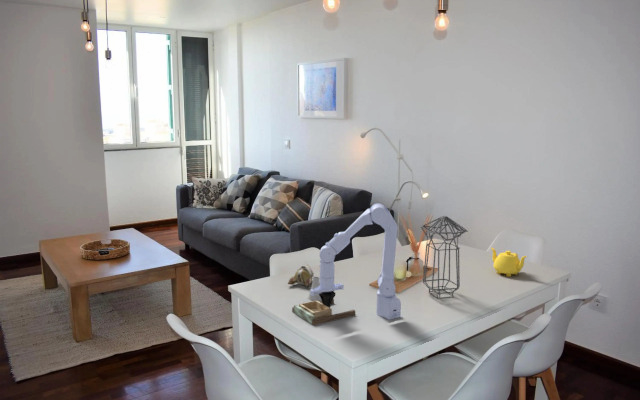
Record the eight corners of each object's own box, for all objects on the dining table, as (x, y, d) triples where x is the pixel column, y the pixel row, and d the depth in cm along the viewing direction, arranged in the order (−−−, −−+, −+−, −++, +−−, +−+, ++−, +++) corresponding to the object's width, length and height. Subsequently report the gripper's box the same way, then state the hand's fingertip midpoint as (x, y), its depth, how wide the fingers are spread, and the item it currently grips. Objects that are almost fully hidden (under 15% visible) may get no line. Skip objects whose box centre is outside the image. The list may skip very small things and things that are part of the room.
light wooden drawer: (331, 317, 205) (331, 308, 204) (313, 321, 201) (314, 313, 200) (316, 308, 214) (316, 300, 213) (299, 312, 210) (299, 304, 209)
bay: (355, 317, 208) (355, 307, 207) (313, 327, 198) (313, 317, 197) (332, 304, 221) (332, 295, 221) (292, 313, 211) (292, 304, 210)
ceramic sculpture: (318, 262, 251) (308, 273, 237) (318, 279, 253) (308, 291, 239) (297, 260, 254) (285, 271, 240) (297, 277, 256) (286, 289, 242)
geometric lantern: (432, 302, 224) (436, 220, 218) (416, 290, 239) (419, 213, 233) (466, 299, 228) (470, 218, 222) (448, 287, 243) (451, 211, 237)
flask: (314, 296, 231) (314, 273, 230) (327, 299, 227) (328, 277, 225) (303, 300, 226) (303, 277, 224) (317, 304, 221) (317, 281, 220)
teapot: (534, 275, 262) (536, 252, 260) (517, 281, 253) (519, 257, 251) (499, 266, 277) (500, 244, 275) (481, 271, 268) (483, 248, 266)
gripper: (336, 270, 215) (336, 303, 217) (305, 276, 207) (305, 309, 209) (346, 275, 209) (346, 308, 211) (315, 281, 201) (315, 315, 204)
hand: (326, 309), depth 210 cm, fingers closed
